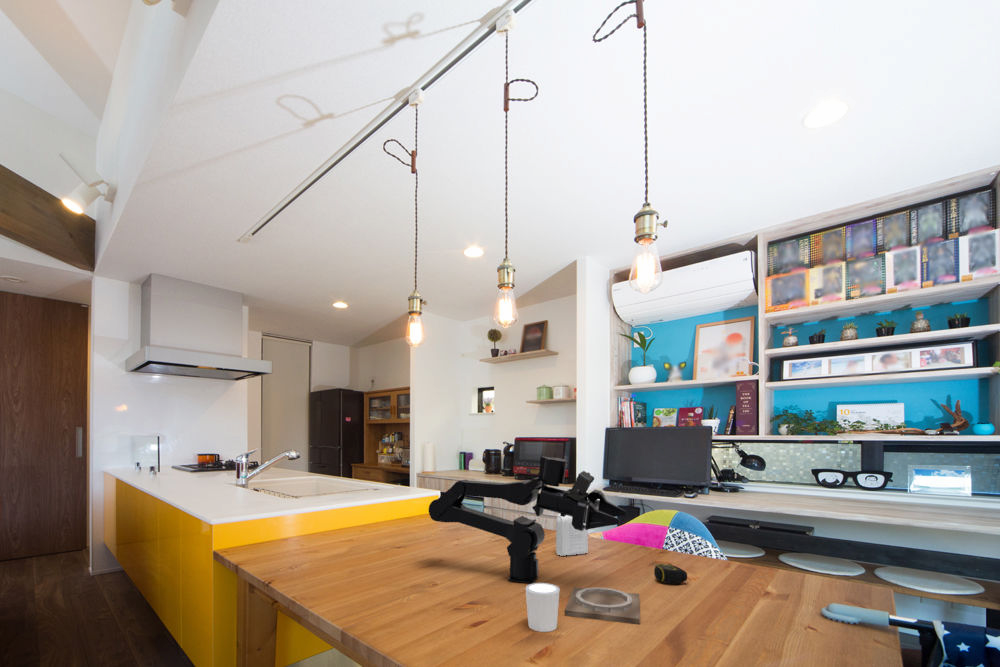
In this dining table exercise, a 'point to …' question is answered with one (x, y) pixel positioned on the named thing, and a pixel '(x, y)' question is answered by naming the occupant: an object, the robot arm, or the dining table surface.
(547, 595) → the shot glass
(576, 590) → the ring holder
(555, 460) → the robot arm
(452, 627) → the dining table surface
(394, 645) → the dining table surface
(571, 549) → the white rounded block
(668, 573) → the tape measure
